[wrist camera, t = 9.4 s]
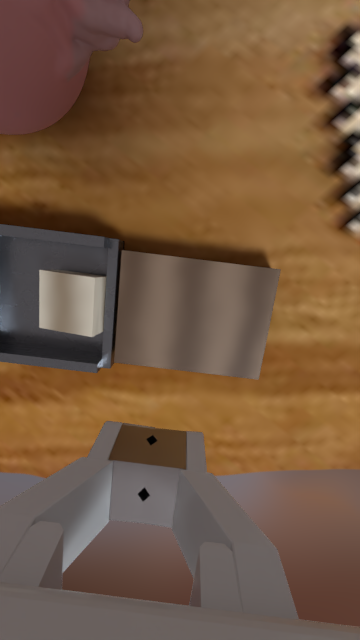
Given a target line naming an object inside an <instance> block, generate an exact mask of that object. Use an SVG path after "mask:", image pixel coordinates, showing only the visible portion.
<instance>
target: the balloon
mask: <svg viewBox="0 0 360 640" xmlns="http://www.w3.org/2000/svg"><path fill="white" fill-rule="evenodd" d="M129 1H130V0H0V134H9V135H19V134H28V133H33V132H37V131H40V130H42V129H45V128H47V127H49V126H51V125H52V124H54V123H56V122H57V121H58V120H60V119H61V118H62V117H63V116H64V115H65V114H66V113H67V112H68V111H69V110H70V108H71V107H72V106H73V104H74V103H75V101H76V100H77V98H78V96H79V94H80V92H81V90H82V87H83V85H84V82H85V78H86V75H87V71H88V66H89V60H90V56H91V54H92V52H93V51H98V50H102V51H108V50H111V49H113V48H115V47H116V46H117V44H118V43H119V40H120V39H129V40H130V41H132V42H138V41H139V40H140V39H141V38H142V35H143V27H142V23H141V21H140V20H139V18H138V17H137V16H136V15H135V14H134V13H133V12H132V11H131V9H130V8H128V5H129Z"/></svg>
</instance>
